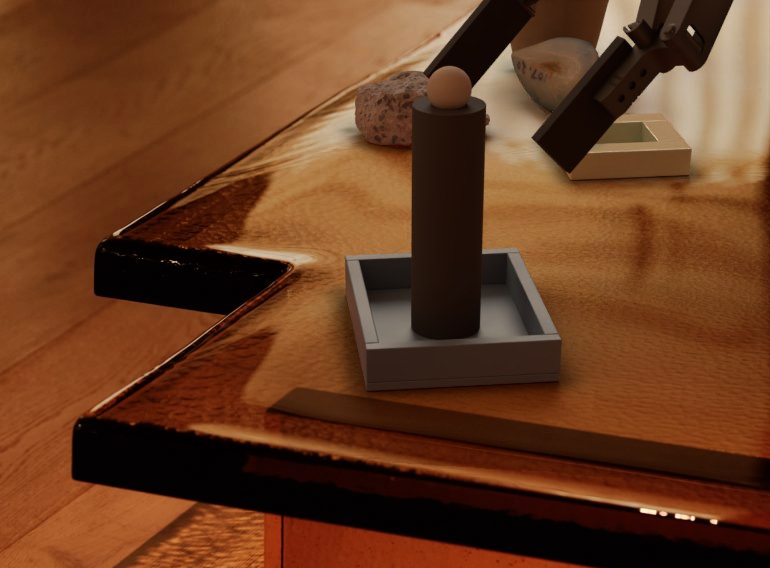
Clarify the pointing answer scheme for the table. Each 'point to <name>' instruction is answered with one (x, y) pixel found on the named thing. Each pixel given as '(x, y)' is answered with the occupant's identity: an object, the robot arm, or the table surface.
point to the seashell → (553, 68)
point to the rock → (390, 108)
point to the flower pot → (563, 22)
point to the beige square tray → (636, 150)
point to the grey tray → (455, 356)
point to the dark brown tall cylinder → (447, 207)
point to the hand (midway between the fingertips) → (491, 121)
